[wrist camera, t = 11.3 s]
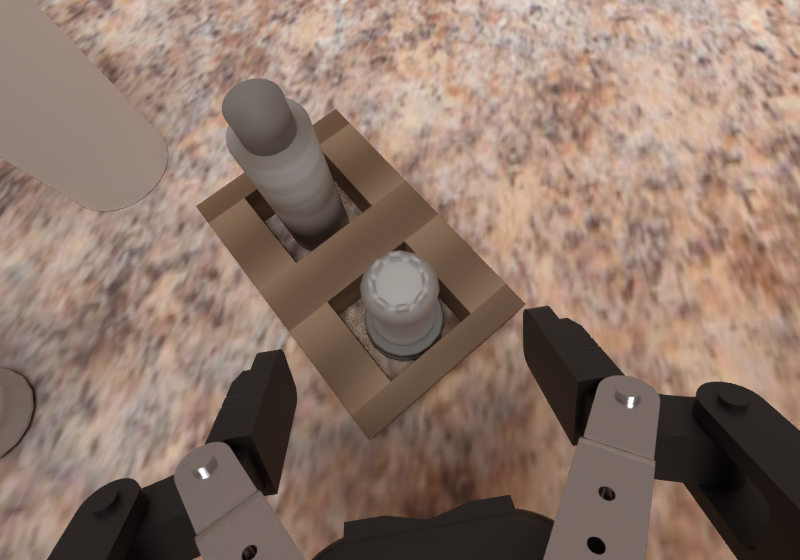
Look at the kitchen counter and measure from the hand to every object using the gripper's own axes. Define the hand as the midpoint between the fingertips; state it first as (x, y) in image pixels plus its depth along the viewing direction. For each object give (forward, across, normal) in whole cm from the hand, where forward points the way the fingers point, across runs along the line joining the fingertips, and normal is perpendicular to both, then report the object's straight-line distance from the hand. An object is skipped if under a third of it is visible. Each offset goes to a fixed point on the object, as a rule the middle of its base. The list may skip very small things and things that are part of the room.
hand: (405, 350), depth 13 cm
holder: (+11, +2, +2) cm, 12 cm away
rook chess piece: (+9, 0, +5) cm, 10 cm away
